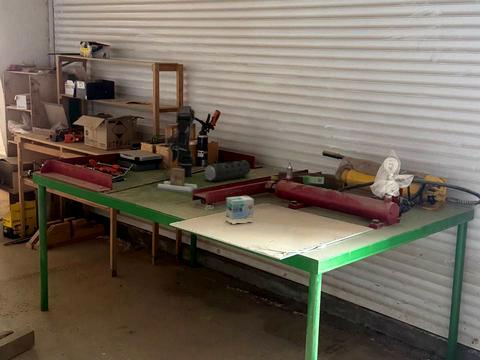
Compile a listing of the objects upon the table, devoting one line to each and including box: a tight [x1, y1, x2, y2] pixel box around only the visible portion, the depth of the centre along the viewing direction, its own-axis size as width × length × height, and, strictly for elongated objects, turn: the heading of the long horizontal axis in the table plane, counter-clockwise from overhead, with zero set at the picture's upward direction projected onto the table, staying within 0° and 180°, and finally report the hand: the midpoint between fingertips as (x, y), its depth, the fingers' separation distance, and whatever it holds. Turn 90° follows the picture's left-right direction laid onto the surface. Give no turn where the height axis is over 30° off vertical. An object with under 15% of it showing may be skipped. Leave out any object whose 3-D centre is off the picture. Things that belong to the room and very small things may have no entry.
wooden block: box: [169, 167, 185, 187], centre depth 311 cm, size 4×6×10 cm, turn 70°
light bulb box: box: [225, 195, 255, 220], centre depth 256 cm, size 11×7×11 cm, turn 117°
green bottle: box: [270, 171, 344, 190], centre depth 317 cm, size 39×10×10 cm, turn 86°
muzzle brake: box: [204, 159, 251, 182], centre depth 339 cm, size 10×28×10 cm, turn 133°
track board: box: [156, 180, 199, 194], centre depth 312 cm, size 11×19×2 cm, turn 70°
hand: (175, 162), depth 321 cm, fingers open, 9 cm apart
